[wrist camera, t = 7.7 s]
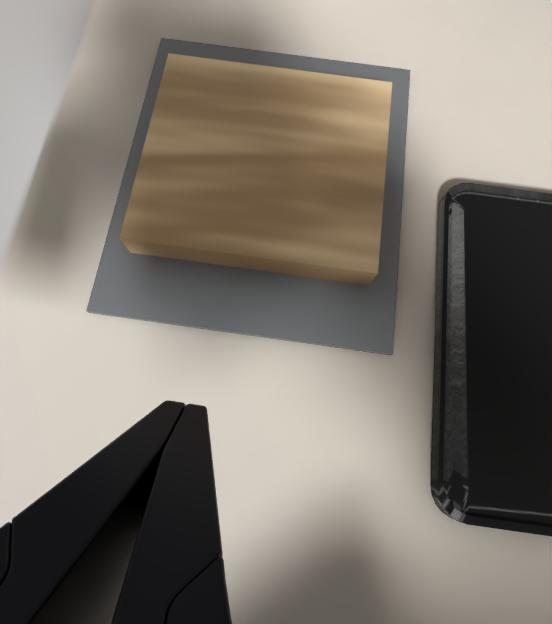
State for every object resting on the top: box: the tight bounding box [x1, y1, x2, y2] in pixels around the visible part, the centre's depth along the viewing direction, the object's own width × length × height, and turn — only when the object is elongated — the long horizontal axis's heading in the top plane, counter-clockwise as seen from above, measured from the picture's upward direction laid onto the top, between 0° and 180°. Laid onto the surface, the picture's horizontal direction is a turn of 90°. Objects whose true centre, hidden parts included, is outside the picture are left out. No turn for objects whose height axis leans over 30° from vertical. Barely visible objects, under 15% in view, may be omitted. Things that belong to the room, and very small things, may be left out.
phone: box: [431, 183, 552, 536], centre depth 18 cm, size 8×1×15 cm
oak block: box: [119, 53, 392, 285], centre depth 20 cm, size 2×11×10 cm
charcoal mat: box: [87, 38, 410, 355], centre depth 20 cm, size 16×14×1 cm
